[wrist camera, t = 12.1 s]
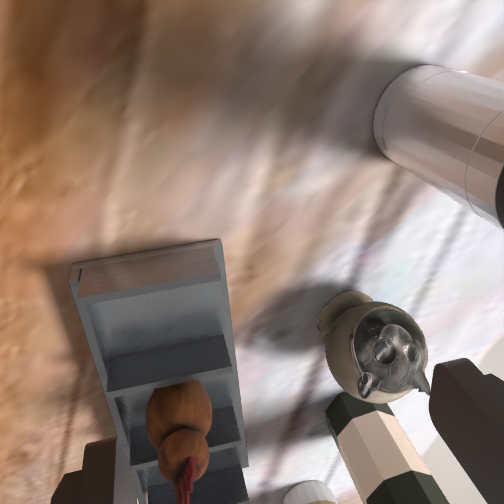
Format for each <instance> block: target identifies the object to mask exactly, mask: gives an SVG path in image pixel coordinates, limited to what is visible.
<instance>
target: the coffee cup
mask: <svg viewBox="0 0 504 504" xmlns="http://www.w3.org/2000/svg"><path fill="white" fill-rule="evenodd" d="M283 504H338V503H337V501H336V499H335V497H334V496H333V494H332V492H331V490H330V489H329V488H328V487H327V485H326V484H325V483H323V482H321V481H317V480H310V481H305V482H302V483H299V484H297V485H295V486H294V487H292V488H291V489H290V490H289V491H288V492H287V493H286V494H285V496H284V498H283Z"/></svg>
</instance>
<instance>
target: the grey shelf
mask: <svg viewBox="0 0 504 504" xmlns="http://www.w3.org/2000/svg"><path fill="white" fill-rule="evenodd" d="M69 284H70V287H71V290H72V294H73V297H74V300H75V303H76V306H77V309H78V312H79V316H80V319H81V322H82V325H83V328H84V331H85V334H86V338H87V341H88V344H89V347H90V350H91V353H92V356H93V360H94V363H95V366H96V369H97V372H98V375H99V379H100V382H101V385H102V388H103V391H104V394H105V397H106V401H107V404H108V407H109V410H110V413H111V416H112V419H113V423H114V426H115V429H116V432H117V435H118V436H119V437H120V438H121V440H122V443H123V446H124V449H125V452H126V455H127V458H128V461H129V464H130V467H131V470H132V473H133V476H134V480H135V486H136V494H137V498H138V501H139V504H147V492H148V504H177V503H176V496H175V488H174V484H172V483H170V482H168V481H166V480H165V479H164V478H163V476H162V475H161V473H160V471H159V466H158V450H156V449H155V447H154V446H153V445H152V443H151V442H150V440H149V438H148V434H147V427H146V420H145V411H146V408H147V404H148V401H149V399H150V397H151V395H152V393H153V391H154V389H156V388H161V387H166V386H170V385H175V384H180V383H184V382H189V381H194V380H199V381H200V383H201V384H202V386H203V387H204V389H205V390H206V392H207V394H208V396H209V399H210V402H211V407H212V425H211V429H210V430H209V432H208V433H207V435H206V436H205V439H206V441H207V444H208V448H209V462H208V466H207V468H206V470H205V472H204V474H203V475H202V476H201V477H200V478H199V479H197V480H196V481H194V482H193V492H192V493H189V504H249V499H248V494H247V490H246V485H245V481H244V477H243V472H242V468H246V467H249V465H248V456H247V448H246V440H245V431H244V423H243V414H242V406H241V397H240V389H239V381H238V372H237V364H236V355H235V347H234V339H233V330H232V322H231V313H230V305H229V296H228V288H227V280H226V271H225V263H224V254H223V246H222V242H221V239H216V240H210V241H204V242H198V243H192V244H186V245H180V246H174V247H168V248H162V249H156V250H150V251H144V252H138V253H132V254H126V255H120V256H114V257H108V258H102V259H96V260H90V261H84V262H78V263H73V264H72V269H71V273H70V277H69Z"/></svg>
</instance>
